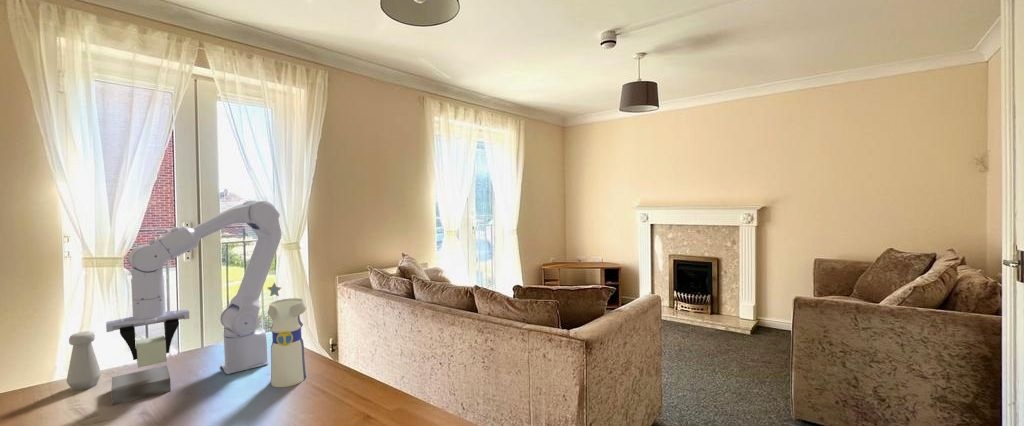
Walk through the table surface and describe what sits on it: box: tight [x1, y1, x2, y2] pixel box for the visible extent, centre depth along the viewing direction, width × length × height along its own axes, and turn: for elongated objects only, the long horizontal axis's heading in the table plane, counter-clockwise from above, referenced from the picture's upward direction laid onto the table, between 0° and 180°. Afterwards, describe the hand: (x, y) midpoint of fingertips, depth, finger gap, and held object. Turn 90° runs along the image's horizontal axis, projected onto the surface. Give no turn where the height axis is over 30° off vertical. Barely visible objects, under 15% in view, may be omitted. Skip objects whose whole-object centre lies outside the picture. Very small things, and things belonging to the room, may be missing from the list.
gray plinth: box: [110, 365, 172, 406], centre depth 100 cm, size 10×10×3 cm
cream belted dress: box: [267, 282, 308, 388], centre depth 104 cm, size 8×9×25 cm
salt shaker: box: [66, 330, 102, 391], centre depth 102 cm, size 6×6×13 cm
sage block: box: [135, 334, 167, 368], centre depth 99 cm, size 5×5×5 cm
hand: (151, 355), depth 99 cm, fingers closed on sage block, 5 cm apart
